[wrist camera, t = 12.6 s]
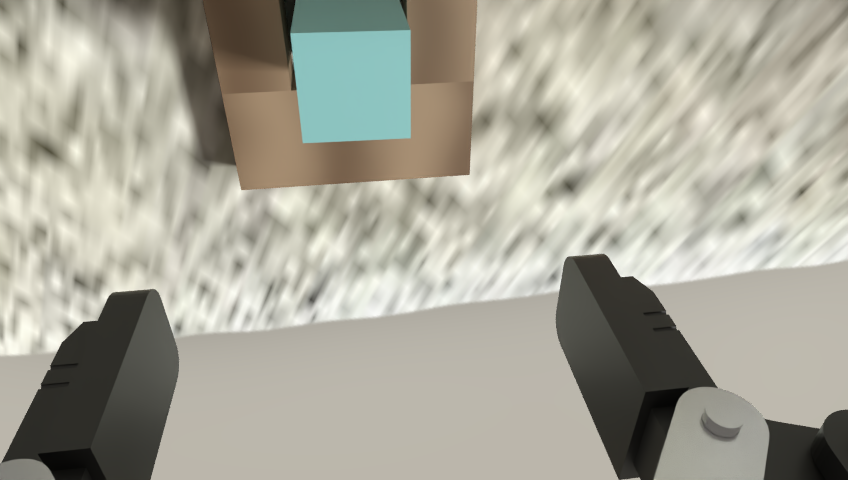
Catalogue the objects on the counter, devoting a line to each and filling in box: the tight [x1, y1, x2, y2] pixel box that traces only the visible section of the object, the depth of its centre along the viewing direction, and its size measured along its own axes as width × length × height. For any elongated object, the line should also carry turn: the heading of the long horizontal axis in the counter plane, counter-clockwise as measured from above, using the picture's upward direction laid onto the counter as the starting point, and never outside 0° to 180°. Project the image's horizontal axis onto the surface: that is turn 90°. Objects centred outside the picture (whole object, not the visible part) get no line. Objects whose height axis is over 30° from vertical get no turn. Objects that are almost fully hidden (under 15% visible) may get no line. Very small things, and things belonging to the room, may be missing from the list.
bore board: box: [203, 0, 477, 190], centre depth 29 cm, size 12×16×2 cm
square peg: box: [290, 0, 411, 143], centre depth 26 cm, size 4×4×10 cm
